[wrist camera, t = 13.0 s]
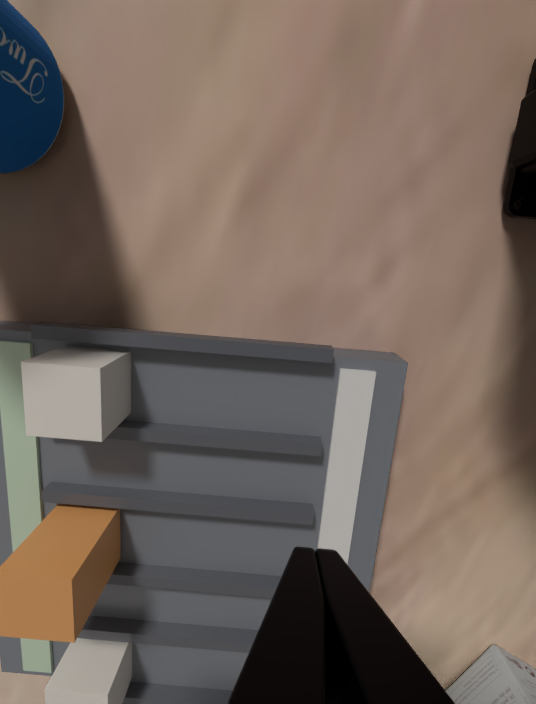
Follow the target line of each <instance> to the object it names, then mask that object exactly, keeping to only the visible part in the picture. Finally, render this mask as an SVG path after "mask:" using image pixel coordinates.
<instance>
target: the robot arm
mask: <svg viewBox="0 0 536 704" xmlns="http://www.w3.org/2000/svg"><path fill="white" fill-rule="evenodd" d="M509 162H510V164H511V171H510V176H509V181H508V186H507V191H506V196H505V200H504V212H505V214H507V215H508V216H510V217H516V218H528V219H536V59H535V60H534V63H533V66H532V70H531V75H530V80H529V85H528V90H527V94H526V97H525V98H524V99H523V100H522V102H521V106H520V111H519V116H518V121H517V126H516V131H515V135H514V140H513V145H512V150H511V155H510V160H509ZM516 200H519V202H520V208H519V209H518V210H517V209H516V208H515V206H514V203H515V201H516ZM228 704H455V703H454V702H453V700H452V699H451V698H450V696H449V695H448V694H447V692H446V691H445V690H444V689H443V687H442V686H441V685H440V683H439V682H438V681H437V680H436V678H435V677H434V676H433V674H432V673H431V672H430V671H429V669H428V668H427V667H426V665H425V664H424V663H423V662H422V660H421V659H420V658H419V656H418V655H417V654H416V652H415V651H414V650H413V649H412V647H411V646H410V645H409V643H408V642H407V641H406V640H405V638H404V637H403V636H402V634H401V633H400V632H399V631H398V629H397V628H396V627H395V625H394V624H393V623H392V622H391V620H390V619H389V618H388V616H387V615H386V614H385V613H384V611H383V610H382V609H381V607H380V606H379V605H378V603H377V602H376V601H375V600H374V598H373V597H372V596H371V594H370V593H369V592H368V591H367V589H366V588H365V587H364V585H363V584H362V583H361V582H360V580H359V579H358V578H357V576H356V575H355V574H354V573H353V571H352V570H351V569H350V567H349V566H348V565H347V563H346V562H345V561H344V560H343V558H342V557H341V556H340V554H339V553H338V552H337V551H336V550H333V549H322V548H318V549H316V550H314V549H313V548H310V547H299V546H296V547H294V549H293V551H292V553H291V555H290V558H289V560H288V562H287V565H286V567H285V569H284V572H283V574H282V576H281V579H280V581H279V583H278V586H277V588H276V590H275V593H274V595H273V597H272V600H271V602H270V604H269V607H268V609H267V611H266V614H265V616H264V618H263V621H262V623H261V625H260V628H259V630H258V632H257V635H256V637H255V639H254V642H253V644H252V646H251V649H250V651H249V654H248V656H247V658H246V661H245V663H244V665H243V668H242V670H241V672H240V675H239V677H238V679H237V682H236V684H235V686H234V689H233V691H232V693H231V696H230V698H229V700H228Z"/></svg>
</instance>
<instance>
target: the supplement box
mask: <svg viewBox="0 0 536 704" xmlns="http://www.w3.org/2000/svg"><path fill="white" fill-rule="evenodd" d="M446 692H447V694H448V695H449V696H450V698H451V699H452V700H453V702H454V703H455V704H536V669H535V668H533V667H531V666H530V665H528V664H526V663H525V662H523V661H522V660H520V659H518V658H517V657H515V656H513V655H512V654H510V653H508V652H507V651H505V650H503V649H502V648H500V647H498V646H497V645H494V644H493V645H491V646H490V647H489V648H488V649H487V650H486V651H485V652H484V653H483V654H482V655H481V656H480V657H479V658H478V659H477V660H476V661H475V662H474V663H473V664H472V665H471V666H470V667H469V668H468V669H467V670H466V671H465V672H464V673H463V674H462V675H461V676H460V677H459V678H458V679H457V680H456V681H455V682H454V683H453V684H452V685H451V686H450V687H449V688H448V689H447V690H446Z"/></svg>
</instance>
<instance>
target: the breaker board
mask: <svg viewBox="0 0 536 704" xmlns="http://www.w3.org/2000/svg"><path fill="white" fill-rule="evenodd" d="M407 366H408V363H407V362H406V361H405V360H403V359H402V358H401V357H399V356H398V355H397V354H395V353H389V352H377V351H365V350H353V349H340V348H333V347H332V346H329V345H317V344H304V343H292V342H280V341H268V340H256V339H244V338H231V337H219V336H207V335H195V334H183V333H170V332H158V331H146V330H134V329H122V328H110V327H97V326H85V325H73V324H61V323H49V322H40V323H24V322H12V321H0V566H1V565H2V564H3V563H4V562H5V561H6V560H7V559H8V557H9V556H10V555H11V554H12V553H13V552H14V551H15V550H16V549H17V548H18V547H19V546H20V544H21V543H22V542H23V541H24V540H25V539H26V538H27V537H28V536H29V535H30V534H31V533H32V532H33V530H34V529H35V528H36V527H37V526H38V525H39V524H40V523H41V522H42V521H43V520H44V519H45V517H46V516H47V515H48V514H49V513H50V512H51V511H52V510H53V509H54V508H55V507H56V506H57V504H58V503H60V504H71V505H83V506H95V507H106V508H118V509H120V534H121V558H120V560H119V562H118V563H117V565H116V567H115V569H114V571H113V573H112V575H111V576H110V578H109V580H108V582H107V584H106V586H105V587H104V589H103V591H102V593H101V595H100V597H99V599H98V600H97V602H96V604H95V606H94V608H93V610H92V612H91V613H90V615H89V617H88V619H87V621H86V623H85V625H84V626H83V628H82V630H81V632H80V634H79V636H78V638H77V639H76V641H75V643H71V642H60V641H49V640H37V639H26V638H14V637H3V636H0V659H1V668H2V672H13V673H24V674H35V675H47V676H52V677H51V679H50V680H49V682H48V684H47V686H46V688H45V702H46V704H228V700H229V698H230V696H231V693H232V691H233V689H234V686H235V684H236V682H237V679H238V677H239V675H240V672H241V670H242V668H243V665H244V663H245V661H246V658H247V656H248V654H249V651H250V649H251V646H252V644H253V642H254V639H255V637H256V635H257V632H258V630H259V628H260V625H261V623H262V621H263V618H264V616H265V614H266V611H267V609H268V607H269V604H270V602H271V600H272V597H273V595H274V593H275V590H276V588H277V586H278V583H279V581H280V579H281V576H282V574H283V572H284V569H285V567H286V565H287V562H288V560H289V558H290V555H291V553H292V551H293V549H294V547H296V546H299V547H310V548H313V549H314V550H316V549H318V548H322V549H333V550H336V551H337V552H338V553H339V554H340V556H341V557H342V558H343V560H344V561H345V562H346V563H347V565H348V566H349V567H350V569H351V570H352V571H353V573H354V574H355V575H356V576H357V578H358V579H359V580H360V582H361V583H362V584H363V585H364V587H365V588H366V589H367V591H368V592H369V591H370V585H371V580H372V574H373V568H374V562H375V556H376V550H377V544H378V538H379V532H380V526H381V520H382V514H383V508H384V502H385V496H386V491H387V485H388V479H389V473H390V467H391V461H392V455H393V449H394V443H395V437H396V431H397V425H398V419H399V413H400V407H401V401H402V396H403V390H404V384H405V378H406V372H407Z"/></svg>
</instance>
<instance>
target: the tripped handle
mask: <svg viewBox="0 0 536 704" xmlns="http://www.w3.org/2000/svg"><path fill="white" fill-rule="evenodd" d="M120 558H121V534H120V509H118V508H106V507H95V506H83V505H71V504H60V503H58V504H57V506H56V507H55V508H54V509H53V510H52V511H51V512H50V513H49V514H48V515H47V516H46V517H45V519H44V520H43V521H42V522H41V523H40V524H39V525H38V526H37V527H36V528H35V529H34V530H33V532H32V533H31V534H30V535H29V536H28V537H27V538H26V539H25V540H24V541H23V542H22V543H21V544H20V546H19V547H18V548H17V549H16V550H15V551H14V552H13V553H12V554H11V555H10V556H9V557H8V559H7V560H6V561H5V562H4V563H3V564H2V565H1V566H0V636H3V637H14V638H26V639H37V640H49V641H60V642H71V643H75V641H76V639H77V638H78V636H79V634H80V632H81V630H82V628H83V626H84V625H85V623H86V621H87V619H88V617H89V615H90V613H91V612H92V610H93V608H94V606H95V604H96V602H97V600H98V599H99V597H100V595H101V593H102V591H103V589H104V587H105V586H106V584H107V582H108V580H109V578H110V576H111V575H112V573H113V571H114V569H115V567H116V565H117V563H118V562H119V560H120Z"/></svg>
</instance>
